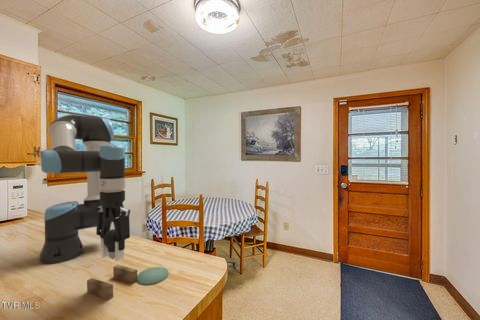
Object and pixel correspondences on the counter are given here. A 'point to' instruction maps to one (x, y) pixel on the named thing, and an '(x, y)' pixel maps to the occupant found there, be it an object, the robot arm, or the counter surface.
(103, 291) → the pair of wooden planks
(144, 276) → the pad
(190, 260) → the counter surface
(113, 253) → the light bulb
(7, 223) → the counter surface
